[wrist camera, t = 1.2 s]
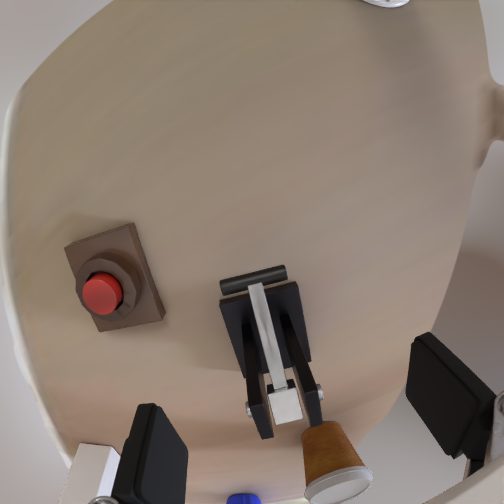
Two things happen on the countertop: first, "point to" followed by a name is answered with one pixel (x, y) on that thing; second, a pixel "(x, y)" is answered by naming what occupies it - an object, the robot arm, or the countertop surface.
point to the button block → (117, 276)
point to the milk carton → (90, 474)
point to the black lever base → (290, 347)
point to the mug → (243, 499)
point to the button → (102, 293)
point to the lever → (269, 340)
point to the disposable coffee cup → (332, 466)
